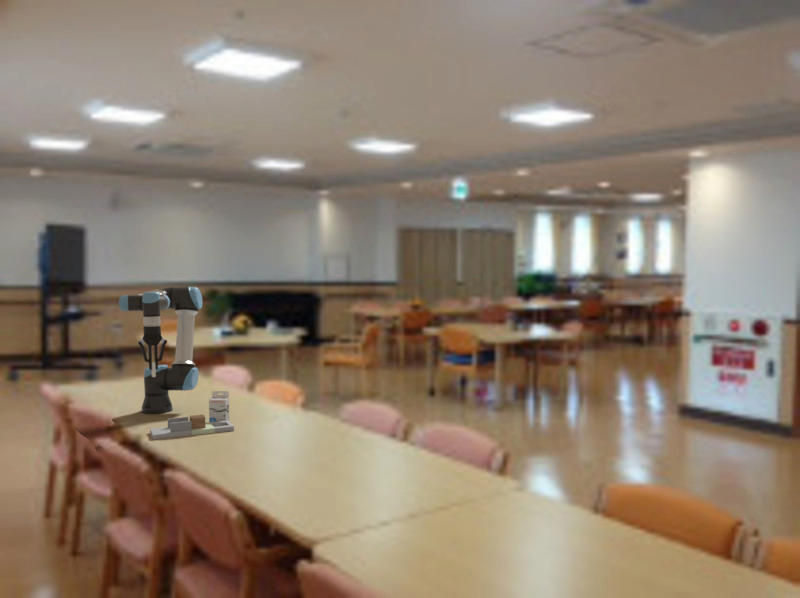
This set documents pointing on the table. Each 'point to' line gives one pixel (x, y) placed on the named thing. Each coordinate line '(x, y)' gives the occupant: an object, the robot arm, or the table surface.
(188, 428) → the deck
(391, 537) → the table surface
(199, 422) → the block
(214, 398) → the ink box
